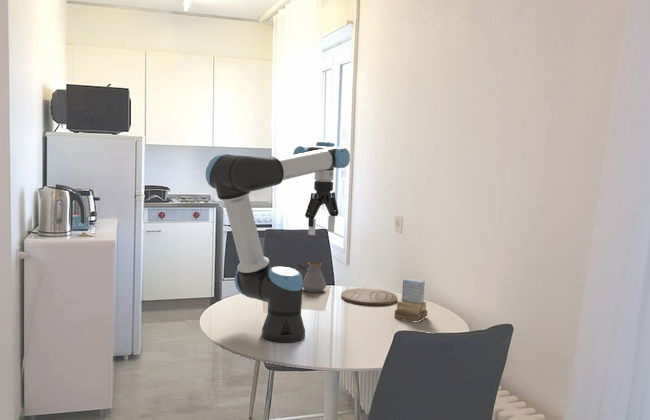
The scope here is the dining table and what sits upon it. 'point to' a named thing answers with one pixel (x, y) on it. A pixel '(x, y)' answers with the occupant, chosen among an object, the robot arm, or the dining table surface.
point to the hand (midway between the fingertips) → (321, 233)
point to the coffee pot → (313, 278)
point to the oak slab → (411, 307)
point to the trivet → (369, 297)
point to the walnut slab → (410, 315)
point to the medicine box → (413, 290)
